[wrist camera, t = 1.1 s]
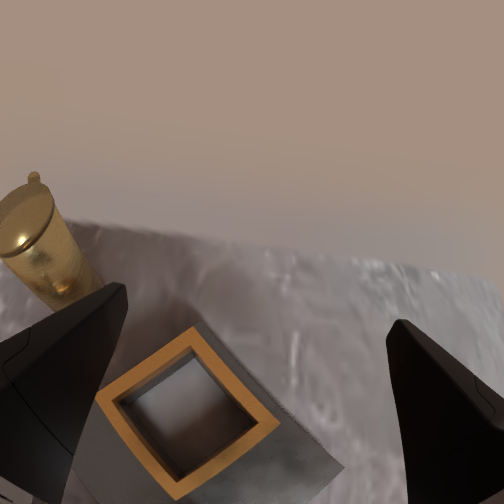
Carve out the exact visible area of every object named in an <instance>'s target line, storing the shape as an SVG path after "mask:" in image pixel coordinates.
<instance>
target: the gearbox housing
mask: <svg viewBox="0 0 504 504" xmlns="http://www.w3.org/2000/svg"><path fill="white" fill-rule="evenodd" d="M194 358H195V359H196V360H197V361H198V362H199V363H200V365H201V366H202V367H203V368H204V369H205V371H206V372H207V373H208V374H209V375H210V376H211V378H212V379H213V380H214V381H215V382H216V383H217V385H218V386H219V387H220V388H221V389H222V390H223V391H224V392H225V394H226V395H227V396H228V397H229V398H230V399H231V400H232V401H233V402H234V403H235V405H236V406H237V407H238V408H239V409H240V410H241V411H242V412H243V413H244V414H245V415H246V416H247V417H248V418H249V419H250V420H251V421H252V423H251V424H250V425H248V426H247V427H246V428H245V429H243V430H242V431H241V432H240V433H238V434H237V435H236V436H235V437H233V438H232V439H231V440H229V441H228V442H227V443H225V444H224V445H223V446H221V447H220V448H219V449H217V450H216V451H215V452H213V453H212V454H210V455H209V456H208V457H206V458H205V459H203V460H202V461H201V462H199V463H198V464H196V465H195V466H193V467H192V468H190V469H189V470H187V471H186V472H184V473H183V472H182V471H181V469H180V468H179V467H178V466H177V465H176V464H175V463H174V462H173V461H172V460H171V458H170V457H169V456H168V455H167V454H166V453H165V452H164V450H163V449H162V448H161V447H160V446H159V444H158V443H157V442H156V441H155V440H154V438H153V437H152V436H151V435H150V433H149V432H148V431H147V430H146V428H145V427H144V426H143V424H142V423H141V422H140V420H139V419H138V418H137V416H136V415H135V414H134V412H133V411H132V409H131V408H130V407H129V405H128V404H130V403H131V402H133V401H134V400H136V399H137V398H139V397H140V396H141V395H143V394H144V393H146V392H147V391H149V390H150V389H152V388H153V387H154V386H156V385H157V384H159V383H160V382H162V381H163V380H164V379H166V378H167V377H169V376H170V375H171V374H173V373H174V372H176V371H177V370H178V369H180V368H181V367H183V366H184V365H185V364H187V363H188V362H189V361H191V360H192V359H194ZM71 468H72V469H73V470H74V472H75V473H76V475H77V476H78V478H79V479H80V480H81V482H82V483H83V484H84V486H85V487H86V488H87V490H88V491H89V492H90V493H91V495H92V496H93V497H94V498H95V500H96V501H97V502H98V503H99V504H306V503H308V502H309V501H310V500H311V499H312V498H313V497H315V496H316V495H317V494H318V493H319V492H320V491H321V490H322V489H323V488H324V487H326V486H327V485H328V484H329V483H330V482H331V481H332V480H333V479H334V478H335V477H336V476H337V475H338V474H339V473H340V472H341V471H342V470H343V469H344V468H345V467H344V466H342V465H341V464H340V463H339V462H338V461H337V460H336V459H334V458H333V457H332V456H331V455H330V454H329V453H328V452H327V451H325V450H324V449H323V448H322V447H321V446H320V445H319V444H318V443H317V442H316V441H314V440H313V439H312V438H311V437H310V436H309V435H308V434H307V433H306V432H305V431H304V430H303V429H302V428H301V427H300V426H299V425H298V424H296V423H295V422H294V421H293V420H292V419H291V418H290V417H289V416H288V415H287V414H286V413H285V412H284V411H283V410H282V409H281V408H280V407H279V406H278V405H277V404H276V403H275V402H274V401H273V400H272V399H271V398H270V397H269V395H268V394H267V393H266V392H265V391H264V390H263V389H262V388H261V387H260V386H259V385H258V384H257V383H256V382H255V381H254V380H253V379H252V378H251V376H250V375H249V374H248V373H247V372H246V371H245V370H244V369H243V368H242V367H241V366H240V364H239V363H238V362H237V361H236V360H235V359H234V358H233V357H232V355H231V354H230V353H229V352H228V351H227V350H226V349H225V348H224V346H223V345H222V344H221V343H220V342H219V341H218V339H217V338H216V337H215V336H214V335H213V334H212V332H211V331H210V330H209V329H208V328H207V326H206V325H205V324H204V323H203V322H202V320H200V321H199V322H197V323H196V324H194V325H193V326H192V327H190V328H189V329H188V330H186V331H185V332H183V333H182V334H180V335H179V336H178V337H176V338H175V339H173V340H172V341H171V342H169V343H168V344H166V345H165V346H164V347H162V348H161V349H159V350H158V351H156V352H155V353H154V354H152V355H151V356H149V357H148V358H146V359H145V360H144V361H142V362H141V363H139V364H138V365H136V366H135V367H133V368H132V369H131V370H129V371H128V372H126V373H125V374H123V375H122V376H120V377H119V378H117V379H116V380H114V381H113V382H111V383H110V384H109V385H107V386H106V387H104V388H103V389H101V390H100V391H98V392H97V394H96V396H95V399H94V401H93V404H92V407H91V409H90V412H89V415H88V417H87V420H86V423H85V426H84V428H83V431H82V434H81V437H80V440H79V443H78V446H77V449H76V452H75V455H74V459H73V462H72V465H71Z"/></svg>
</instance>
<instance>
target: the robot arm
mask: <svg viewBox="0 0 504 504" xmlns="http://www.w3.org/2000/svg"><path fill="white" fill-rule="evenodd" d="M127 311H128V299H127V292H126V286H125V285H124V284H122V283H117V282H112V283H110V284H108V285H106V286H104V287H102V288H100V289H99V290H97V291H95V292H93V293H91V294H89V295H87V296H85V297H83V298H82V299H80V300H78V301H76V302H74V303H72V304H70V305H68V306H67V307H65V308H63V309H61V310H59V311H57V312H56V313H54V314H52V315H50V316H48V317H46V318H45V319H43V320H41V321H39V322H37V323H36V324H34V325H32V326H31V327H28V328H27V329H25V330H23V331H21V332H20V333H18V334H16V335H14V336H12V337H10V338H9V339H7V340H4V341H2V342H0V504H31V502H32V498H33V496H35V497H37V498H39V499H41V500H43V501H45V502H47V503H49V504H61V500H62V497H63V493H64V489H65V485H66V482H67V478H68V475H69V472H70V468H71V465H72V462H73V459H74V455H75V452H76V449H77V446H78V443H79V440H80V437H81V434H82V431H83V428H84V426H85V423H86V420H87V417H88V415H89V412H90V409H91V407H92V404H93V401H94V399H95V396H96V394H97V391H98V389H99V386H100V384H101V381H102V379H103V377H104V374H105V372H106V369H107V367H108V365H109V362H110V360H111V358H112V356H113V353H114V351H115V348H116V345H117V342H118V339H119V336H120V332H121V329H122V326H123V323H124V320H125V317H126V314H127ZM386 348H387V355H388V363H389V371H390V379H391V384H392V389H393V394H394V399H395V404H396V409H397V415H398V421H399V427H400V433H401V439H402V446H403V454H404V462H405V470H406V480H407V493H408V504H504V398H503V397H501V396H500V395H499V394H497V393H496V392H495V391H493V390H492V389H491V388H490V387H488V386H487V385H486V384H485V383H484V382H483V381H481V380H480V379H479V378H478V377H477V376H476V375H474V374H473V373H472V372H471V371H470V370H468V369H467V368H466V367H465V366H464V365H462V364H461V363H460V362H459V361H458V360H457V359H455V358H454V357H453V356H452V355H451V354H449V353H448V352H447V351H446V350H444V349H443V348H442V347H441V346H440V345H438V344H437V343H436V342H435V341H433V340H432V339H431V338H430V337H428V336H427V335H426V334H425V333H423V332H422V331H421V330H420V329H418V328H417V327H416V326H415V325H413V324H412V323H411V322H410V321H408V320H406V319H398V320H396V321H395V322H394V324H393V326H392V328H391V330H390V331H389V333H388V335H387V338H386Z"/></svg>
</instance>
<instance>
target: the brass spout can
mask: <svg viewBox="0 0 504 504" xmlns="http://www.w3.org/2000/svg"><path fill="white" fill-rule="evenodd" d="M0 258H1V259H2V261H3V262H4V263H5V264H6V265H7V266H8V267H9V268H10V269H11V270H12V271H13V273H14V274H15V275H16V276H17V277H18V278H19V279H20V280H21V281H22V282H23V283H24V284H25V285H26V286H27V287H28V288H29V289H30V290H31V291H32V292H33V293H34V294H35V295H36V296H37V297H38V298H40V299H41V300H42V301H43V302H44V303H45V304H46V305H47V306H48V307H49V308H50V309H52V310H53V311H54V312H55V313H56V312H57V311H59V310H61V309H63V308H65V307H67V306H68V305H70V304H72V303H74V302H76V301H78V300H80V299H82V298H83V297H85V296H87V295H89V294H91V293H93V292H95V291H97V290H99V289H100V288H102V287H104V285H103V284H102V282H101V281H100V279H99V278H98V276H97V275H96V273H95V272H94V270H93V269H92V267H91V266H90V264H89V262H88V261H87V259H86V258H85V256H84V255H83V253H82V251H81V250H80V248H79V246H78V245H77V243H76V241H75V240H74V238H73V236H72V235H71V233H70V231H69V229H68V228H67V226H66V224H65V222H64V220H63V219H62V217H61V215H60V213H59V211H58V209H57V207H56V206H55V204H54V198H53V196H52V194H51V192H50V190H49V188H48V187H47V186H46V185H44V184H42V183H40V175H39V173H38V172H31V173H30V174H29V176H28V184H25V185H23V186H20V187H18V188H17V189H15V190H13V191H12V192H11V193H9V194H8V195H7V196H6V197H5V198H4V199H3V200H2V201H1V202H0Z"/></svg>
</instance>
